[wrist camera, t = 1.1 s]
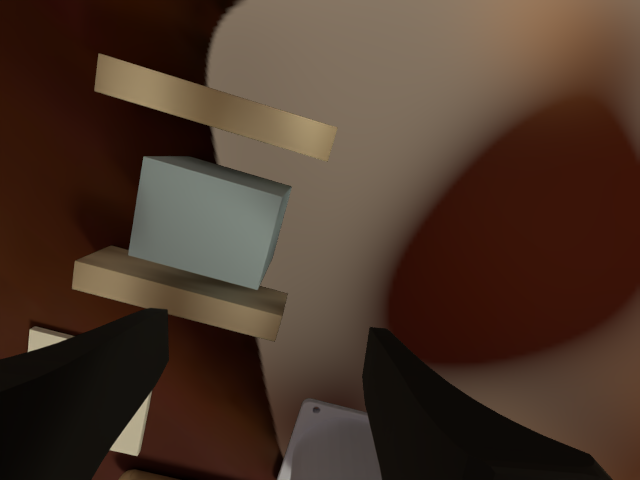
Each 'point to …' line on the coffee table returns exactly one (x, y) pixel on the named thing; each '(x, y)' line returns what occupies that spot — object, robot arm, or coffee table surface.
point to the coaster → (135, 429)
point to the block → (207, 219)
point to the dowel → (143, 476)
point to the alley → (175, 284)
